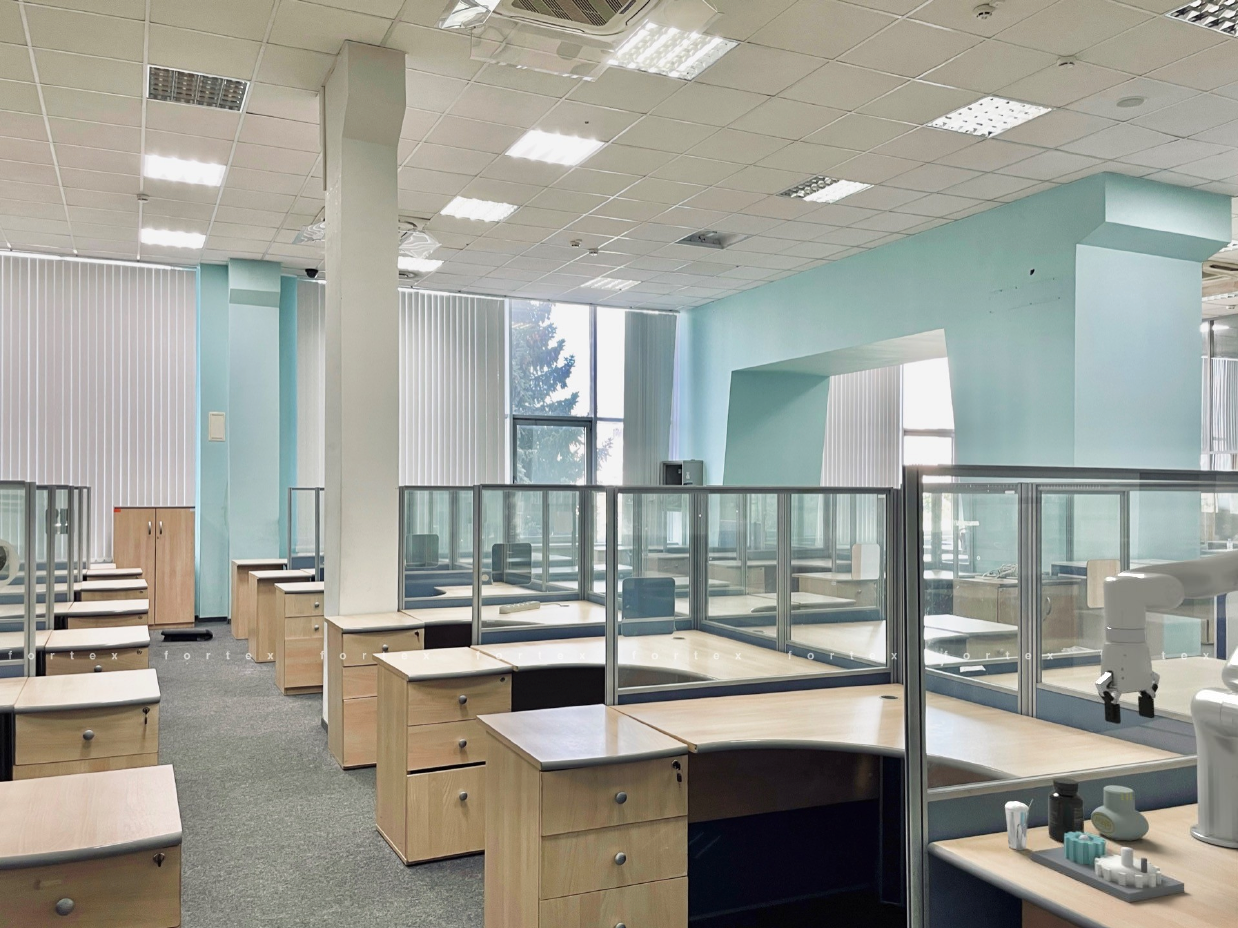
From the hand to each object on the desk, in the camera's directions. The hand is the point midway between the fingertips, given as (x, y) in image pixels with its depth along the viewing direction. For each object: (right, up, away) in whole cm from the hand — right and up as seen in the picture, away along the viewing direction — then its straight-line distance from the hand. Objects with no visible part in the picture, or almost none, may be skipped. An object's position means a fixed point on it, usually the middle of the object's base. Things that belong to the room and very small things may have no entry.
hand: (1130, 719), depth 193 cm
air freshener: (+2, -27, +8) cm, 28 cm away
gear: (-14, -24, -10) cm, 30 cm away
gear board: (-13, -26, -15) cm, 32 cm away
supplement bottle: (-10, -27, +6) cm, 29 cm away
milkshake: (-23, -26, 0) cm, 35 cm away
